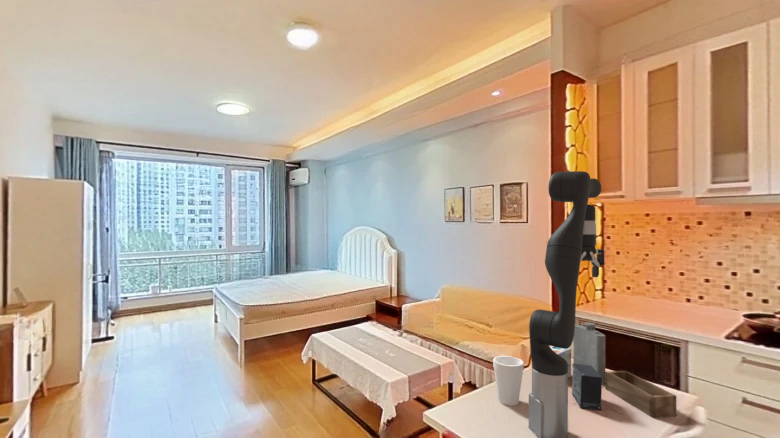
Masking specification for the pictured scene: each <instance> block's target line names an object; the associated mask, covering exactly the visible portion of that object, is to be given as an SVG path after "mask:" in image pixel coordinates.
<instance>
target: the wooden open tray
mask: <svg viewBox="0 0 780 438" xmlns="http://www.w3.org/2000/svg"><path fill="white" fill-rule="evenodd" d="M604 387H605V390H607V391H608V392H610V393H611V394H612V395H615V396H616V397H618V398H619V399H621V400H623V401H625V402H626V403H628V404H629V405H631V406H633V407H635V408H636V409H637V410H638V411H639V410H640V411H641V412H643V413H644V414H646V415H648V416H649V417H651V418H652V419H653V418H654V419H656V418H667V417H668V418H669V417H677V395H675V394H673V393H671V392H669V391H667V390H665V389H664V388H661V387H659V386H657V385H655V384H654V383H652V382H650V381H647V380H646V379H644V378H642V377H639V376H638V375H635V374H634V373H633V372H632V373H631V372H630V371H628V370H613V371H605V385H604Z"/></svg>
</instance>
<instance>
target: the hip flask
mask: <svg viewBox="0 0 780 438" xmlns="http://www.w3.org/2000/svg"><path fill="white" fill-rule="evenodd" d="M596 326H597V325H596V323H593V322H585V323H584V325H581V324H575V332H574V338H573V342H572V344H573V345H572V346H573V350H572V351H573V352H572V353H573V356H572V359H573V360H572V361H573V363H572V364H581V365H591V366H592V367H593V368H594V369H595V370H596V371H597V372H598V374H599V375H600V376H601V377H602V386H605V372H606V334H604V333H602V332H600V331H598V330H596Z"/></svg>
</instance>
